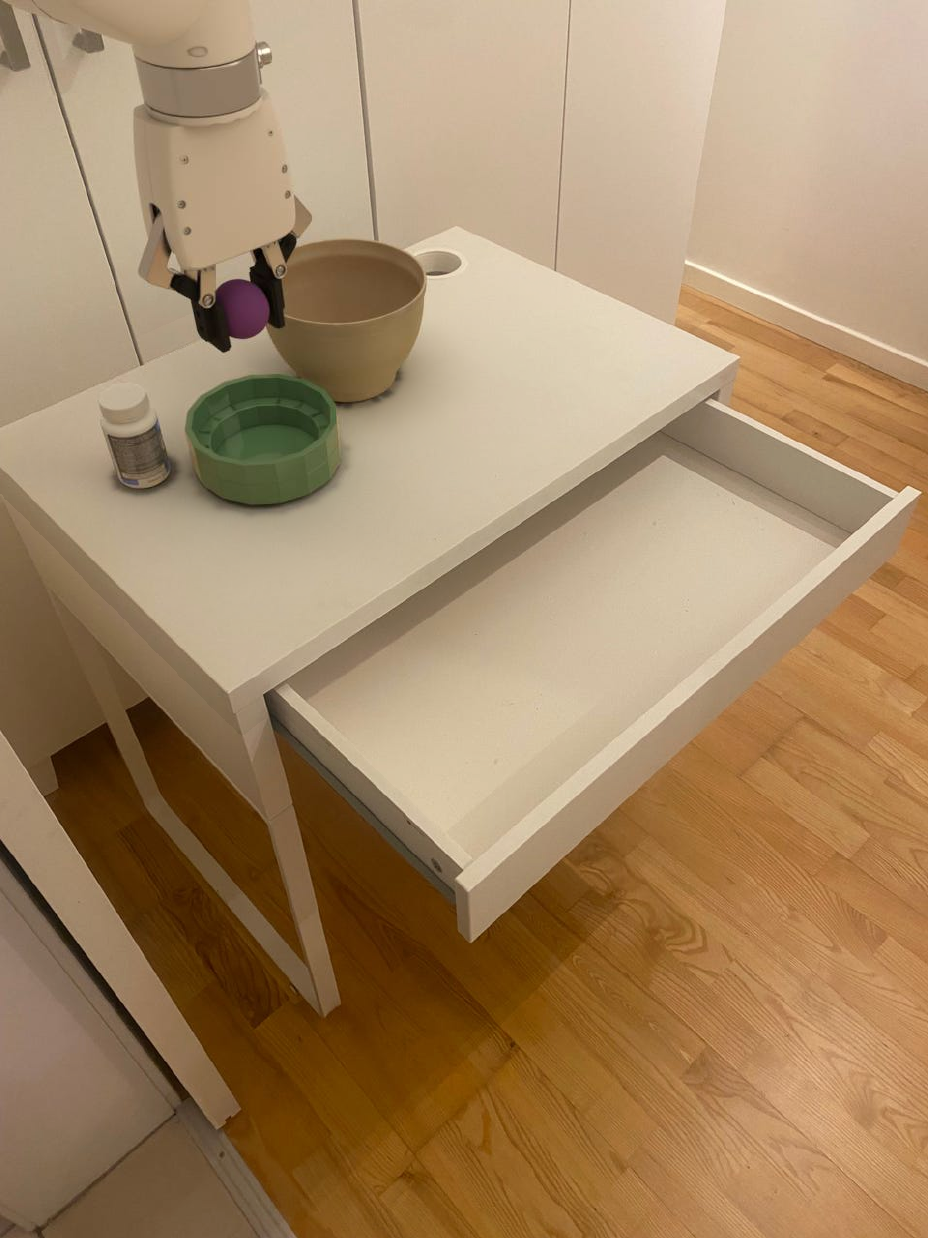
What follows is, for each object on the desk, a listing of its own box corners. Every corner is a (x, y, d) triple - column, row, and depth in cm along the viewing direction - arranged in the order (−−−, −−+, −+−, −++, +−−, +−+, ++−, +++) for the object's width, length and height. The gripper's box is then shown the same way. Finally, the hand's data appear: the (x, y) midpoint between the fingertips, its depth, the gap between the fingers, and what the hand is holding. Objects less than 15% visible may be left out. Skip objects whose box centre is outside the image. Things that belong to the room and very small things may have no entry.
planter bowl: (439, 341, 102) (439, 243, 94) (411, 432, 92) (409, 331, 84) (293, 326, 104) (280, 228, 96) (248, 415, 93) (230, 313, 85)
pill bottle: (182, 472, 87) (162, 395, 81) (137, 497, 85) (113, 419, 79) (151, 449, 89) (129, 372, 83) (107, 473, 87) (81, 395, 81)
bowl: (170, 491, 85) (157, 446, 82) (235, 407, 94) (227, 363, 90) (307, 522, 83) (301, 478, 79) (361, 433, 92) (358, 389, 88)
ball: (206, 344, 74) (195, 292, 71) (231, 315, 77) (222, 263, 74) (258, 354, 73) (249, 302, 70) (282, 324, 76) (275, 273, 73)
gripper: (274, 35, 67) (302, 278, 81) (50, 94, 59) (123, 352, 73) (340, 65, 63) (358, 314, 77) (111, 133, 56) (176, 396, 69)
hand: (243, 330), depth 75 cm, fingers closed on ball, 4 cm apart
